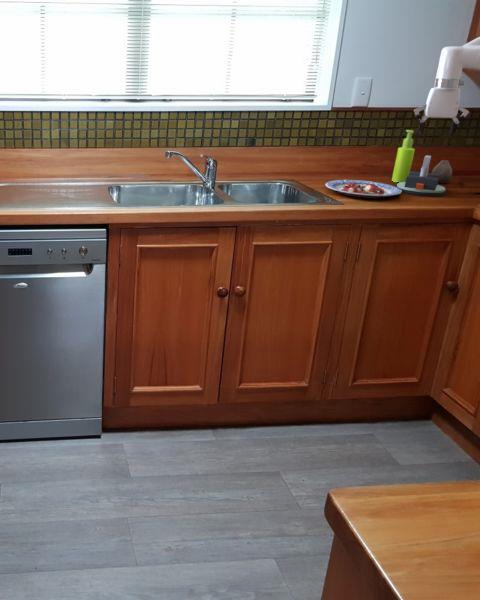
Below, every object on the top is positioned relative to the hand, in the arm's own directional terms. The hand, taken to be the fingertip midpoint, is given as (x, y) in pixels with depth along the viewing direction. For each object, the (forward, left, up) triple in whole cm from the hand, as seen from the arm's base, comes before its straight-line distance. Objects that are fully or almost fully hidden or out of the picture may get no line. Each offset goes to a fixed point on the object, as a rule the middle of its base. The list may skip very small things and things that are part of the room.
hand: (436, 134), depth 220 cm
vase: (-8, -21, -21) cm, 31 cm away
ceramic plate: (+22, +13, -21) cm, 33 cm away
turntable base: (+1, +1, -21) cm, 21 cm away
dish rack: (+1, +1, -20) cm, 20 cm away
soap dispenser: (+7, -17, -21) cm, 28 cm away
